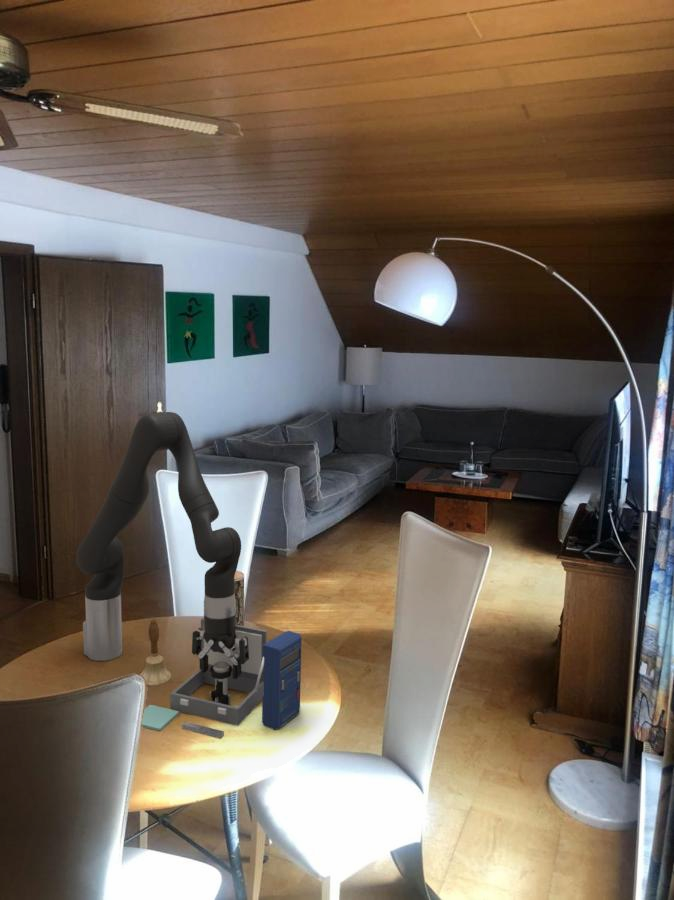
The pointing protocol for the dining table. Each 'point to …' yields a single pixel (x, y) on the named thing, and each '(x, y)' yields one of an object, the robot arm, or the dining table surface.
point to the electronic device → (281, 679)
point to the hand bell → (155, 661)
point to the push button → (221, 682)
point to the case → (246, 682)
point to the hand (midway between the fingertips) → (220, 674)
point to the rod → (203, 730)
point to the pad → (157, 717)
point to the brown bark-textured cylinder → (239, 597)
